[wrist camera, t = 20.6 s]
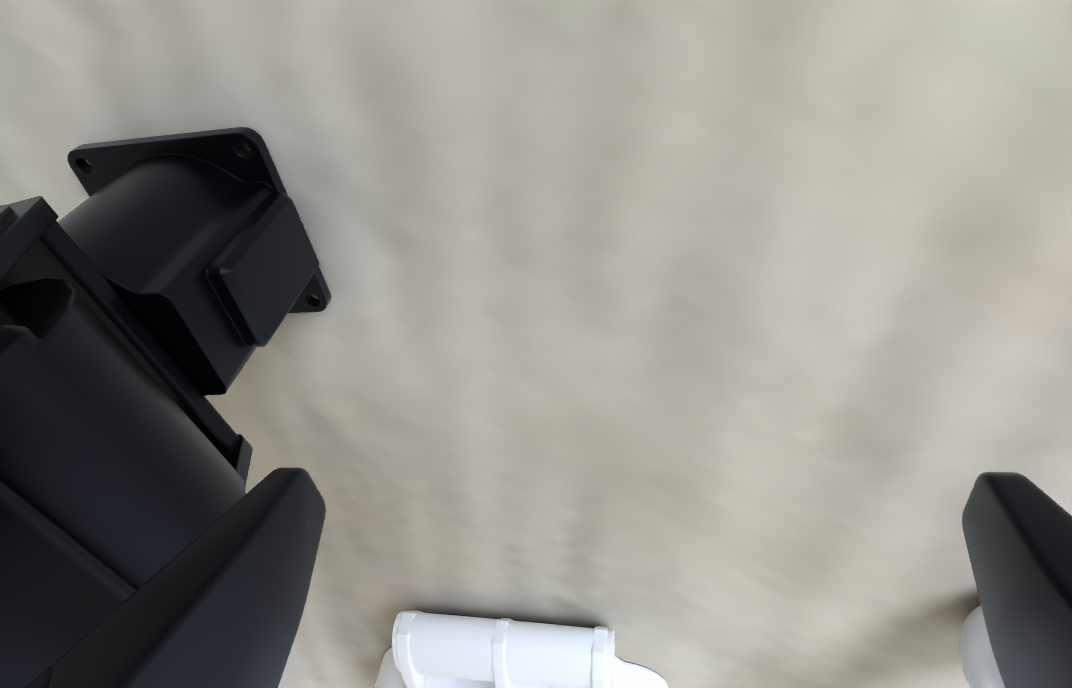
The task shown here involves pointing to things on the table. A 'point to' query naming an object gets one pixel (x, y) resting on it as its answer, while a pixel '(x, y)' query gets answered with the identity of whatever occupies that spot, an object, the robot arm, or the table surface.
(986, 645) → the plastic bottle
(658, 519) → the table surface
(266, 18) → the table surface
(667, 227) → the table surface
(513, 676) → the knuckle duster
